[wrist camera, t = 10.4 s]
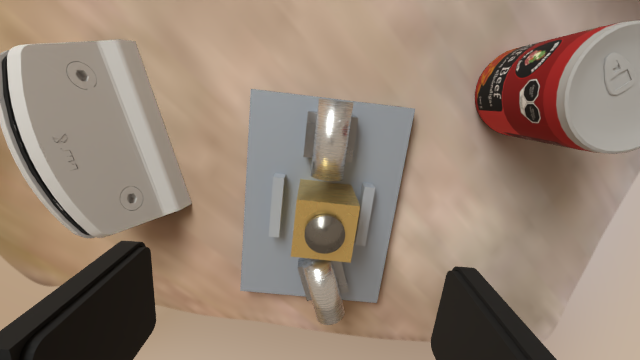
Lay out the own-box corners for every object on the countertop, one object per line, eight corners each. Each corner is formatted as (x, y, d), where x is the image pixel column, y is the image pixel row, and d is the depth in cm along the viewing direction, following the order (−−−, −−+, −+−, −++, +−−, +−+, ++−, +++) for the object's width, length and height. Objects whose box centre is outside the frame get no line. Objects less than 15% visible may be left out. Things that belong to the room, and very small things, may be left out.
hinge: (193, 207, 31) (99, 261, 22) (160, 210, 33) (60, 261, 24) (133, 36, 27) (-15, 17, 18) (99, 50, 28) (-52, 39, 19)
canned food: (514, 30, 27) (643, -14, 16) (569, 87, 28) (721, 81, 18) (454, 98, 28) (536, 99, 18) (509, 149, 30) (616, 178, 19)
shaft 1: (310, 97, 28) (308, 97, 22) (355, 102, 28) (366, 104, 23) (303, 162, 30) (300, 178, 24) (346, 167, 30) (353, 184, 24)
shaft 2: (296, 243, 32) (292, 275, 26) (336, 234, 32) (340, 264, 26) (310, 289, 34) (308, 329, 28) (347, 281, 34) (354, 319, 28)
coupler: (344, 231, 30) (351, 266, 24) (295, 226, 30) (290, 260, 24) (351, 184, 29) (361, 209, 23) (300, 178, 29) (296, 202, 22)
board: (254, 89, 28) (247, 88, 25) (409, 108, 29) (420, 109, 26) (243, 282, 33) (236, 299, 31) (374, 294, 34) (379, 312, 31)
